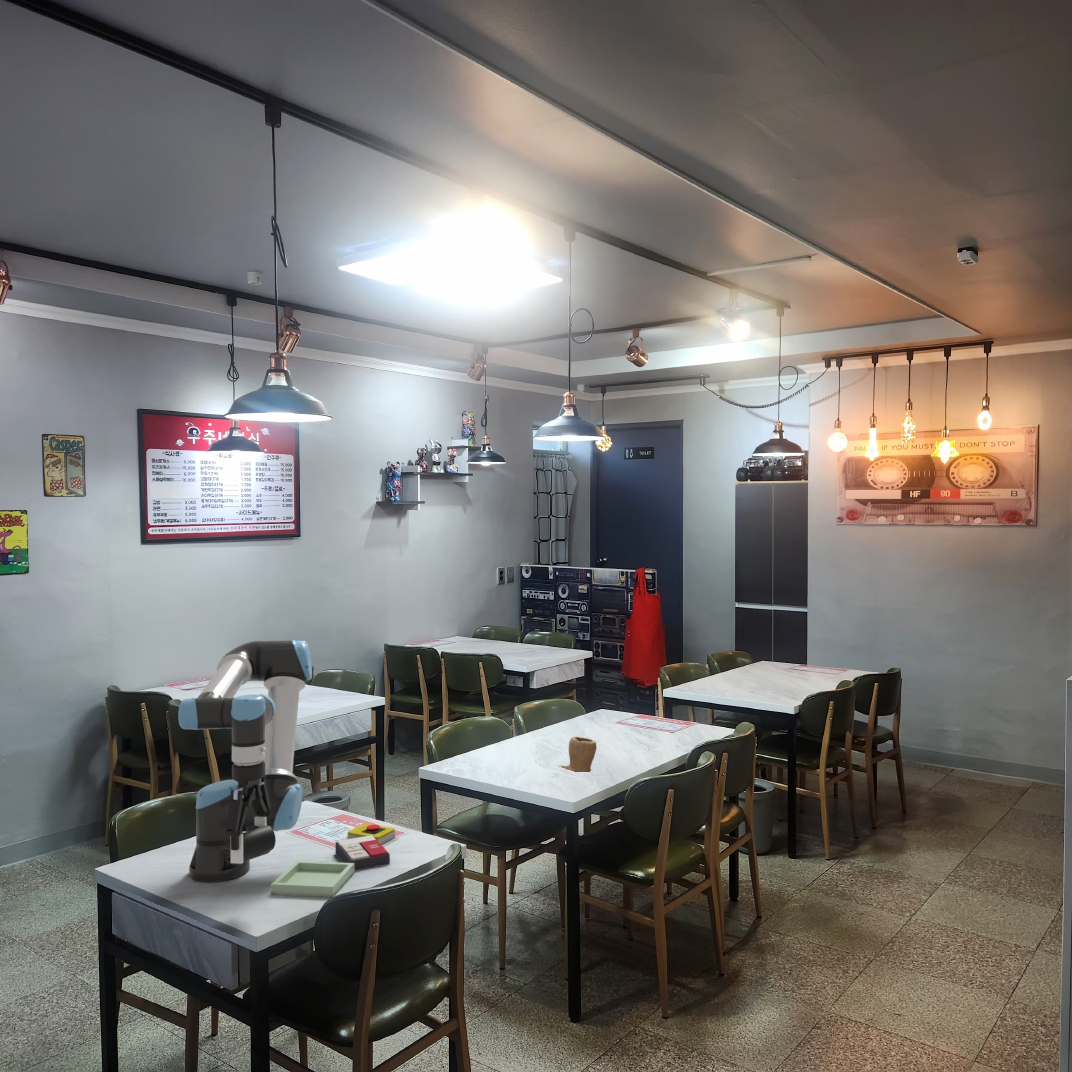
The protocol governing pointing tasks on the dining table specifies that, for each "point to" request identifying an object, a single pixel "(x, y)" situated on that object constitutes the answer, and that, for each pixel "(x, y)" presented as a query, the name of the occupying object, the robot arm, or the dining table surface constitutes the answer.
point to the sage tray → (313, 879)
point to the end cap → (253, 843)
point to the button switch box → (362, 852)
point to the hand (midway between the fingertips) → (249, 853)
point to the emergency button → (373, 833)
